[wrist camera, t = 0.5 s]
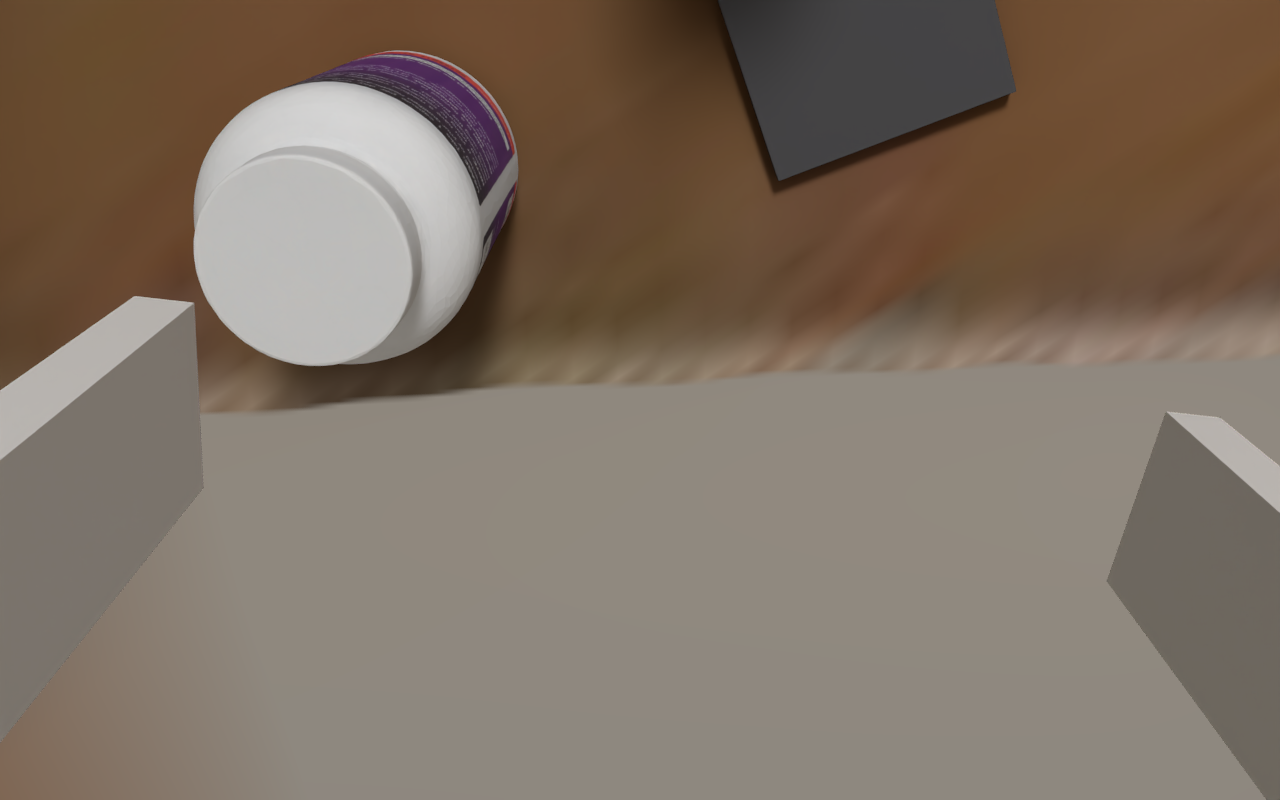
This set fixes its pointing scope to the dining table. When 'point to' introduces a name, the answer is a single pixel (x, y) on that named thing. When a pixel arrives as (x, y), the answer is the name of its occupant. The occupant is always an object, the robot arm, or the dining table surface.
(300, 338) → the pill bottle
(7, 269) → the dining table surface
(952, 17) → the mat
